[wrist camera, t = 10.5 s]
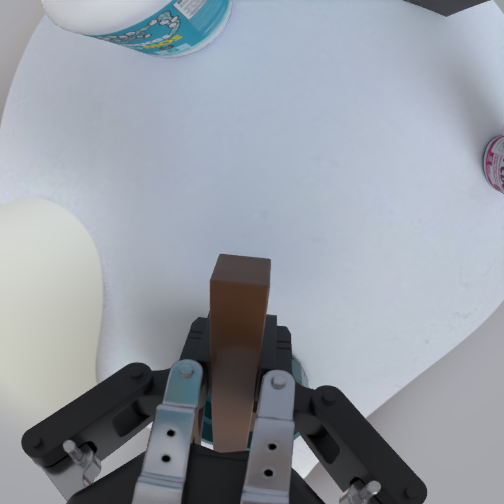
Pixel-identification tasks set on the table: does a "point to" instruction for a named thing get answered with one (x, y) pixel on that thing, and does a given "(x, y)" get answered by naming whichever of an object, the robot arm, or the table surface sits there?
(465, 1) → the dark grey rubber eraser
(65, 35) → the table surface
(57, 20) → the pill bottle
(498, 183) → the pill bottle
